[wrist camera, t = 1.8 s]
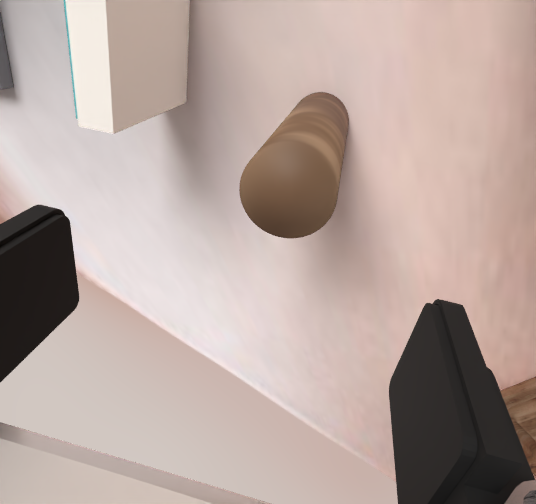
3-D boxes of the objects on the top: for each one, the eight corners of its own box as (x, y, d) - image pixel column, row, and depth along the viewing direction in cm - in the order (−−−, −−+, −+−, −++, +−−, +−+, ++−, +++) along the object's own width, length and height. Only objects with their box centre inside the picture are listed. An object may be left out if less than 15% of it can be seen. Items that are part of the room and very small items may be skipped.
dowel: (355, 98, 27) (348, 156, 15) (340, 155, 29) (324, 247, 17) (297, 87, 27) (245, 135, 15) (287, 144, 29) (234, 226, 17)
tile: (191, -48, 24) (100, -88, 16) (186, 102, 29) (113, 133, 21) (157, -54, 25) (48, -96, 16) (157, 96, 29) (73, 125, 21)
